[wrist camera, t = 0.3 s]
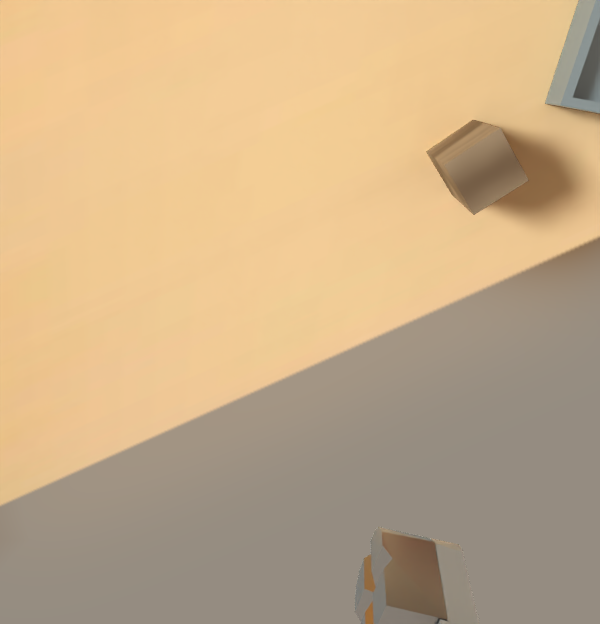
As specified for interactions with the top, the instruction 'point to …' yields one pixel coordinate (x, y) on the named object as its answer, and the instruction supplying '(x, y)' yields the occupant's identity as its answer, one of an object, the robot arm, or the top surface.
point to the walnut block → (477, 165)
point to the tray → (579, 62)
